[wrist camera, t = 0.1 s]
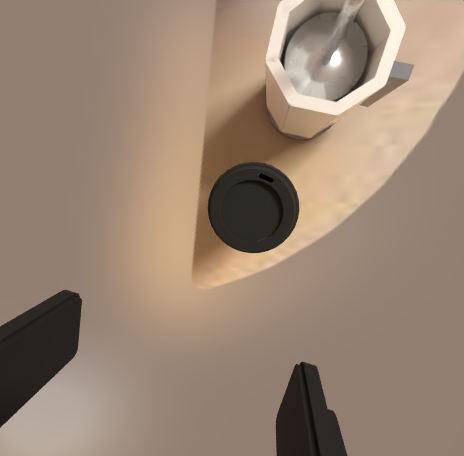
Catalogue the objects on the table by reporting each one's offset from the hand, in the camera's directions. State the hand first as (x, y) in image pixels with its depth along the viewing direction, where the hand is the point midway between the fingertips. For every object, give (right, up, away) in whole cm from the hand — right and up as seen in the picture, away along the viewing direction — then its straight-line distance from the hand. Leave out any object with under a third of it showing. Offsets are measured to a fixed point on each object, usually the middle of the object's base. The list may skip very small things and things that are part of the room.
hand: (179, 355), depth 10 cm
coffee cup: (+6, +10, +29) cm, 32 cm away
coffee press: (+13, +24, +25) cm, 37 cm away
